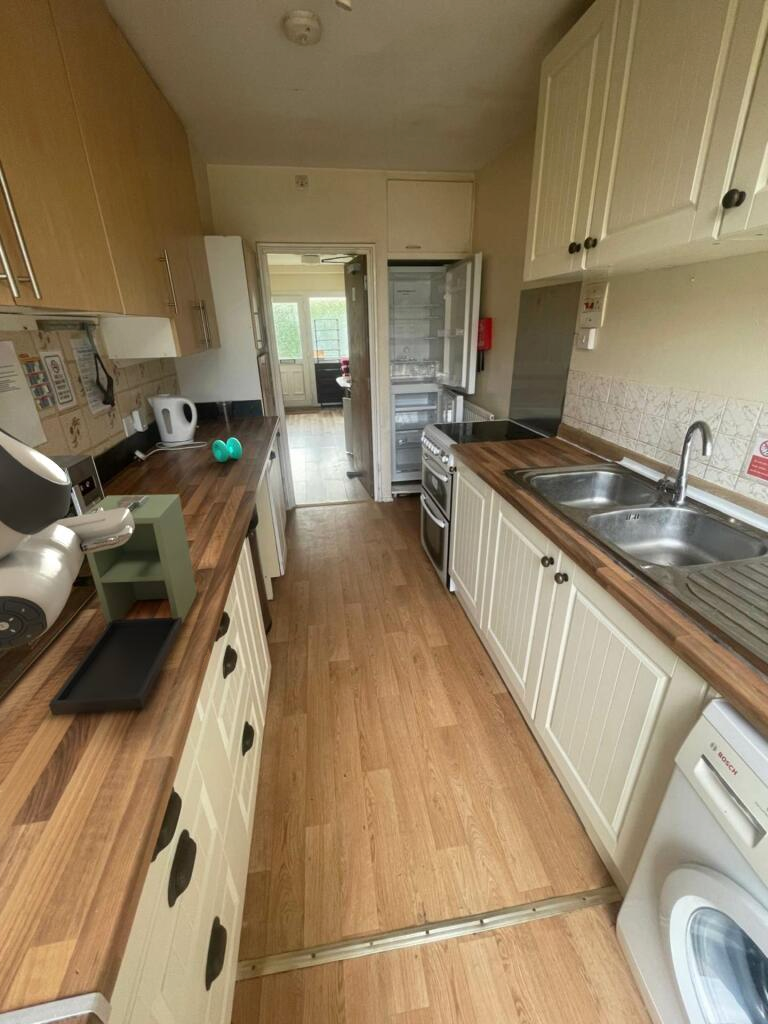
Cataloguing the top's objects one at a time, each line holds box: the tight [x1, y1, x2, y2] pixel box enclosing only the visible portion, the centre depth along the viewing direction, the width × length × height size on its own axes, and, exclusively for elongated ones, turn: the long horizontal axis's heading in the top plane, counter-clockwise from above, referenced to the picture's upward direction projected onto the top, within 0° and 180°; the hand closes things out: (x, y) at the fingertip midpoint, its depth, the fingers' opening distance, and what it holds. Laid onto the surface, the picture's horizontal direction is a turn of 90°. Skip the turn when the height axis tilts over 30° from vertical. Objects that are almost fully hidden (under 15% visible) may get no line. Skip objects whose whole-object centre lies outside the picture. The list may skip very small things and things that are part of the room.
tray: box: [48, 616, 184, 716], centre depth 78 cm, size 14×21×2 cm, turn 7°
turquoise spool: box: [212, 437, 243, 463], centre depth 196 cm, size 10×10×10 cm
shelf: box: [82, 493, 198, 626], centre depth 88 cm, size 14×12×25 cm
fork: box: [116, 496, 149, 512], centre depth 78 cm, size 18×4×1 cm, turn 7°
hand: (64, 519), depth 68 cm, fingers open, 8 cm apart
